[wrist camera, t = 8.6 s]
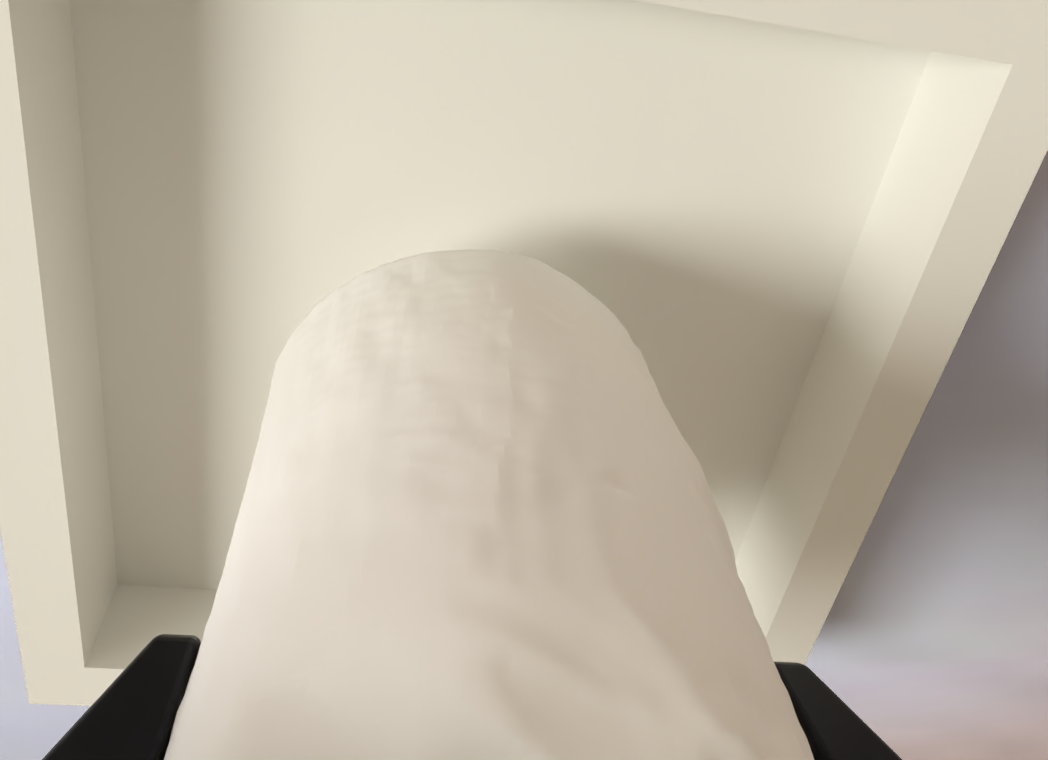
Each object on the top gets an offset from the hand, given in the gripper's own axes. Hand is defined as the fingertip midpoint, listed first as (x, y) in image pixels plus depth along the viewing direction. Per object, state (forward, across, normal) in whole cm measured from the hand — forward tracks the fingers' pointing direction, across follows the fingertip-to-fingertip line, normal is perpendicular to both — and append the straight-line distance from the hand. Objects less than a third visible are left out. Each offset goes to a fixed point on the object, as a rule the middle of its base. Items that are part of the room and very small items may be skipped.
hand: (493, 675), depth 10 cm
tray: (+8, 0, 0) cm, 8 cm away
